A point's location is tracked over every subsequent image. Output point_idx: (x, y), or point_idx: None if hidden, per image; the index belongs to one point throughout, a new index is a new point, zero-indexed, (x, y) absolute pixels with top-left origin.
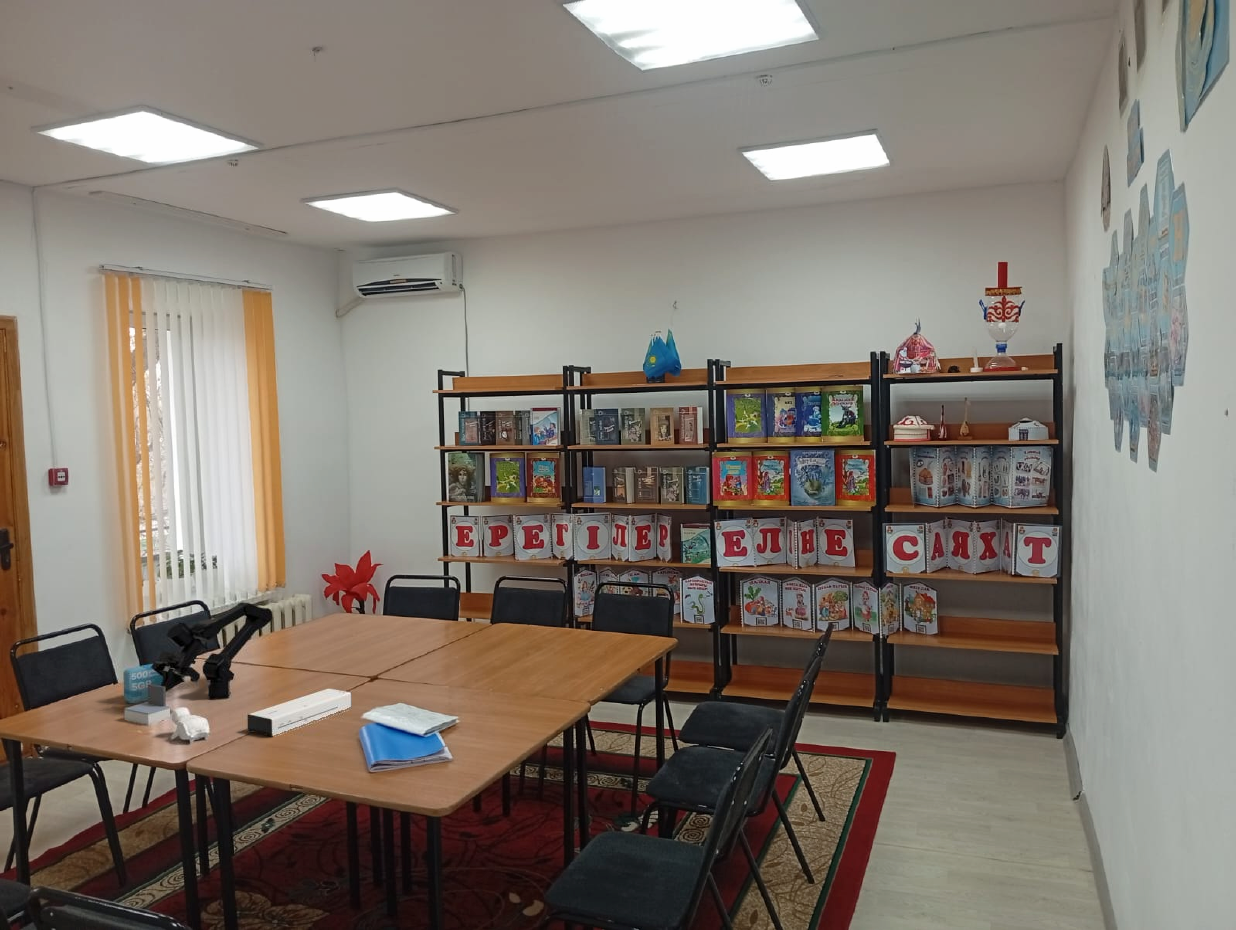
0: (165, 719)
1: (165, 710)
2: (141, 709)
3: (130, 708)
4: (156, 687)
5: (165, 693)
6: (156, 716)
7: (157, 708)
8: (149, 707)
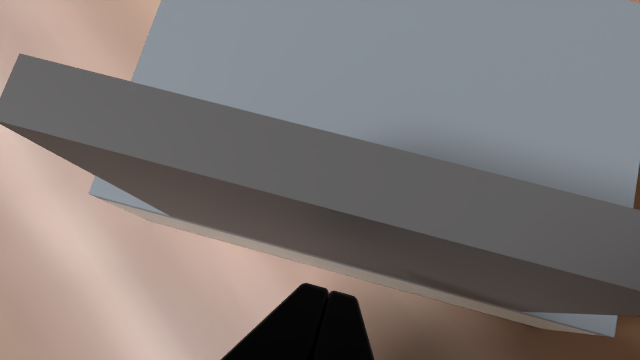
0: None
1: None
2: (400, 16)
3: (584, 26)
4: (320, 139)
5: (87, 167)
6: None
7: (213, 91)
8: (358, 111)
